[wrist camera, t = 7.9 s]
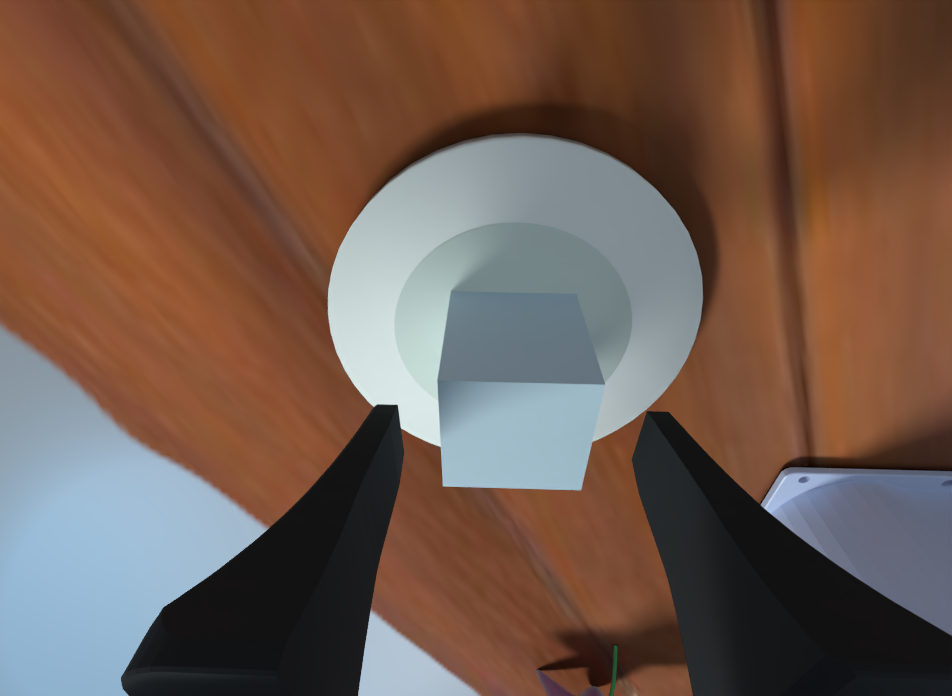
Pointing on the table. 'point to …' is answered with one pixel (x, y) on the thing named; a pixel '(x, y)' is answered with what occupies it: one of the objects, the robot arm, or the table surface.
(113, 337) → the table surface
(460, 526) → the table surface
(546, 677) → the lily
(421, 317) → the dish
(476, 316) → the block
